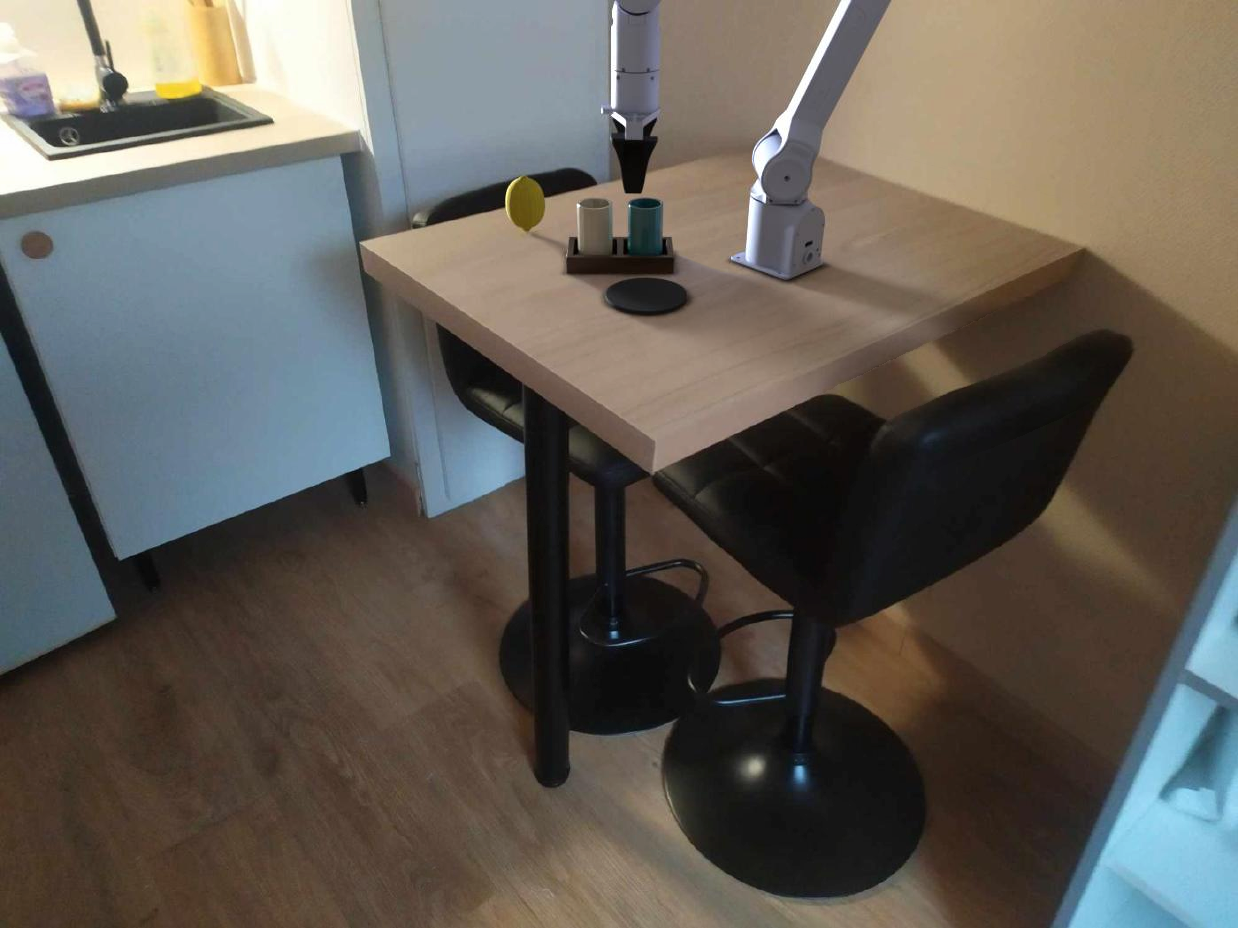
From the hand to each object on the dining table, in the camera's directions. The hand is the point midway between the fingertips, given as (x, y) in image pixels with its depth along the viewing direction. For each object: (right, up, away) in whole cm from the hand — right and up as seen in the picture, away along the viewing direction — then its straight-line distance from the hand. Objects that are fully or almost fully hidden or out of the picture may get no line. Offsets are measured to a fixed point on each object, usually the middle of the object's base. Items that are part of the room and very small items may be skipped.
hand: (633, 183), depth 117 cm
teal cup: (+2, -9, +6) cm, 11 cm away
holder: (-2, -9, +6) cm, 11 cm away
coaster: (+2, -15, -3) cm, 16 cm away
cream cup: (-5, -9, +6) cm, 12 cm away
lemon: (-15, -2, +15) cm, 22 cm away
